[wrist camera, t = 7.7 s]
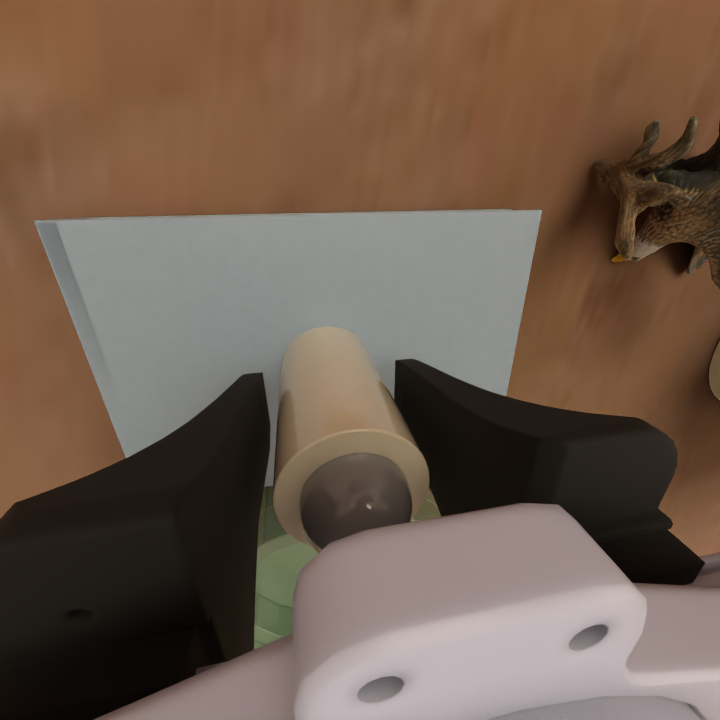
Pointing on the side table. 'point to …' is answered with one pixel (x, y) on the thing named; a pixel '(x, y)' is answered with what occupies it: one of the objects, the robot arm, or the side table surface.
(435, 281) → the book
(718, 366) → the reusable coffee cup
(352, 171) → the side table surface
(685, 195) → the eagle figurine
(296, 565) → the bowl
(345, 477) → the shaker
